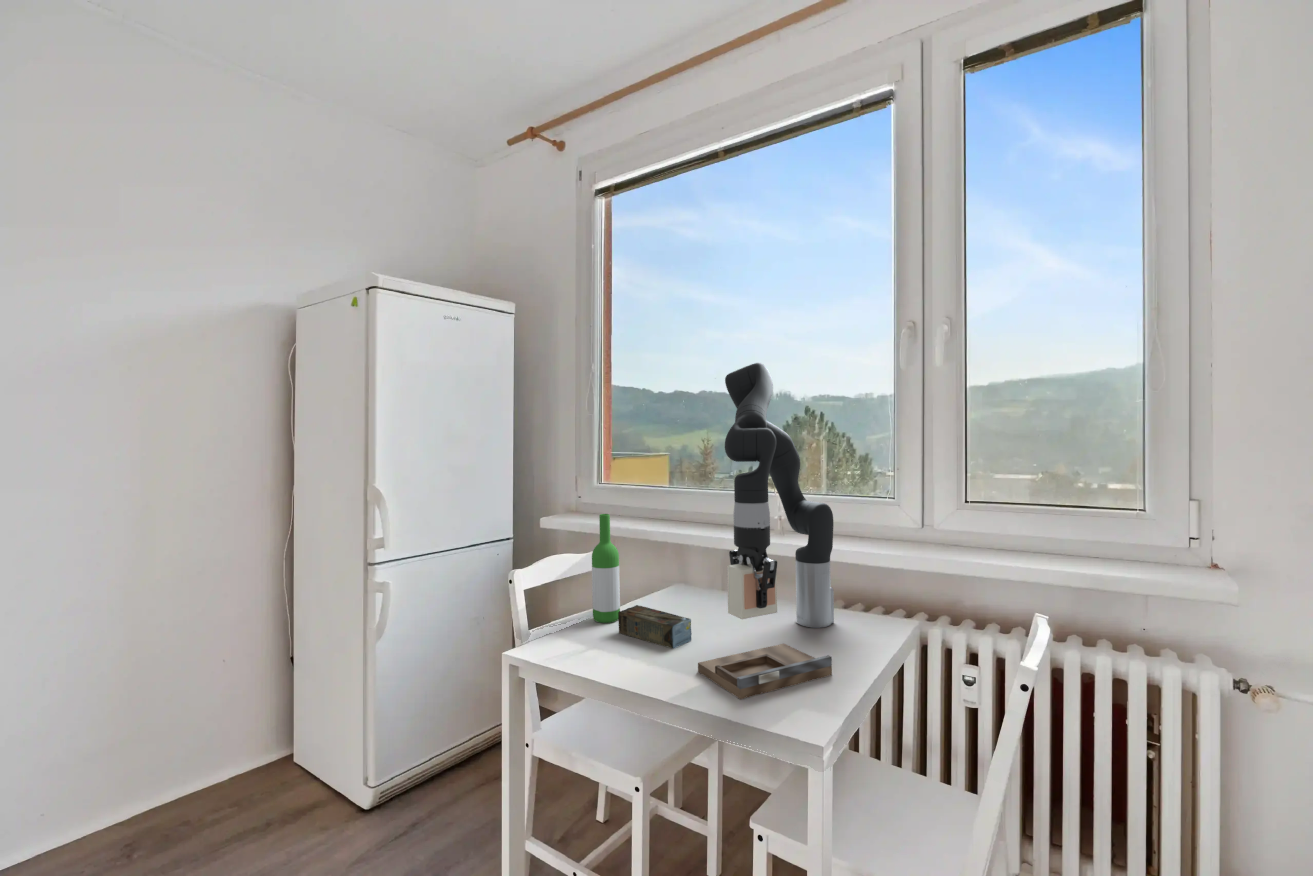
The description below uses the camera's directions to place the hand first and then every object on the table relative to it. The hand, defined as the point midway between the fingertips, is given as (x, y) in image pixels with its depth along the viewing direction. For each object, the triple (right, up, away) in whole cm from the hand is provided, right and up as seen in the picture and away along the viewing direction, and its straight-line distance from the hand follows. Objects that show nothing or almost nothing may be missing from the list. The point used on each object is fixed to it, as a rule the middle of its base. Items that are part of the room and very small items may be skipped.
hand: (752, 603), depth 127 cm
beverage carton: (-21, -17, +30) cm, 40 cm away
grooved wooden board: (+3, -17, +5) cm, 18 cm away
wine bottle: (-34, -17, +45) cm, 59 cm away
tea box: (0, -2, 0) cm, 2 cm away
